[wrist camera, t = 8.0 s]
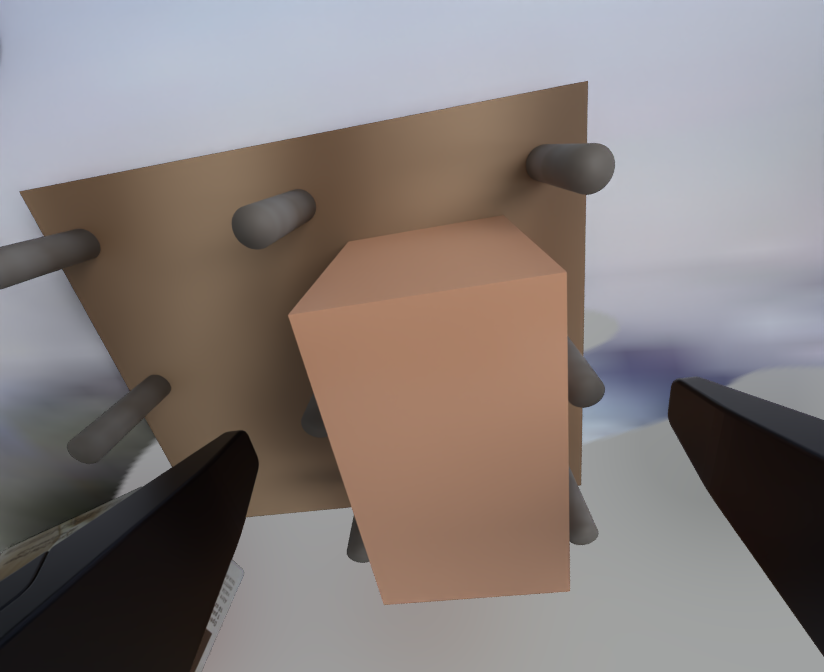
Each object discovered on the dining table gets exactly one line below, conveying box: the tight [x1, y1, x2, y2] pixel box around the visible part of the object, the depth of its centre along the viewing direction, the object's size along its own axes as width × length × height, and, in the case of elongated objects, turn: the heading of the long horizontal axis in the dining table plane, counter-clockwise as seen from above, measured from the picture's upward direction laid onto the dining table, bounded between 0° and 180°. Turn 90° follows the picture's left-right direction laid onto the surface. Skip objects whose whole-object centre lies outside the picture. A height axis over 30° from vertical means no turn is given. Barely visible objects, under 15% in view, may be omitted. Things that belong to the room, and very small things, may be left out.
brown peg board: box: [0, 81, 615, 563], centre depth 11 cm, size 14×12×4 cm
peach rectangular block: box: [288, 215, 570, 605], centre depth 9 cm, size 4×7×5 cm, turn 10°
